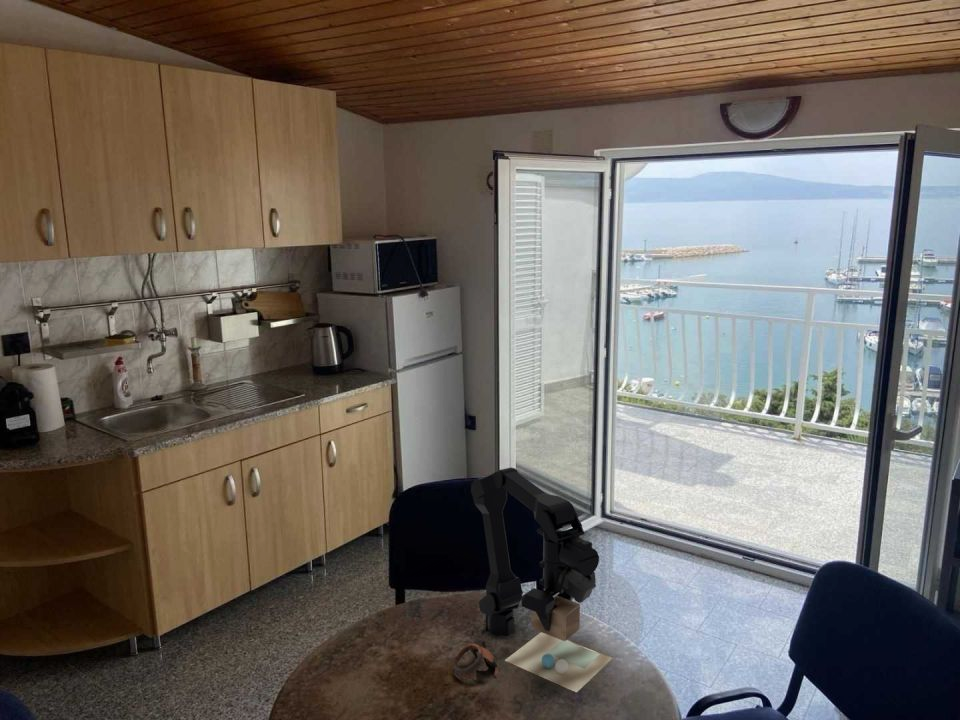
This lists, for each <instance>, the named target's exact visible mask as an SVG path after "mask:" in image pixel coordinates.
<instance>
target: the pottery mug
mask: <svg viewBox="0 0 960 720" xmlns="http://www.w3.org/2000/svg"><path fill="white" fill-rule="evenodd" d="M469 651H470V652H471V653H472V655H473V656H474V658H475V660H474V662H473V663H471V664H470V665H469V666H467V667H463V668H461V667H458V664H459V661H460V660H461V658H462V657H463V656H464V655H465V654H466V653H468V652H469ZM454 659H455V661H454V662H453V663H452V667H453V668H454V676H455V678H457V679H458V680H460V681H467V680H470V679H472V680H475V681H477V680H478V678H477V671H479V672H483V671H484V672H486V671H488V670H489V667H488V665H489V666H491V667H492V668H494V672H493V675H494V677H495V679H496V678H497V679H498V677H499V673H500V671H499V667H498V663H497V661H496V658H495V657H494V655H493V654H492V652H491V651H490V650H489V649H487V643H486V641H485V640H484V639H483V638H481V637H479V638H475V640H474V641H473V643H469V644H466V645H464V646H463V647H462V648H461V647H460V649H459V650H458V651H457V653H456V654H455V655H454ZM486 662H487V664H486Z"/></svg>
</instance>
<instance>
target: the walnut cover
mask: <svg viewBox="0 0 960 720" xmlns="http://www.w3.org/2000/svg"><path fill="white" fill-rule="evenodd" d="M554 605H556V606H558V607H557V608H556V609H554V610H553V611H552V620H551V627H550V631H546V630H545V629H544V627H543V625H542V623H541V621H540V619H539V617H538V615H537V613H536V612H535V611H532V610H531V629H532V630H536V631H538V632H539V633H541V632H542V633H545V634H547V635H550V636H552V637H555V638H557V639H560V640H562V641H566V640H569V638H571V637H572V636H573V635H574V634H576V633H577V632H578V631H579V630H580V629H581V627H580V625H581V624H580V623H581V620H580V619H581V603H579V602H577V601H573V600H572V601H571V600H568V599H565V598H562V597H559V596H555V597H554Z"/></svg>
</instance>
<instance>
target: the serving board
mask: <svg viewBox="0 0 960 720" xmlns="http://www.w3.org/2000/svg"><path fill="white" fill-rule="evenodd" d="M545 654H551V655H552V656H553V657H554V659H555V663H554V665H553V666H552V667H551V668H546V667H544V666H543V665H542V662H541V659H542V657H543V655H545ZM560 659H563V660H565V661H566V662H567V663H568V666H569V668H568V671H567V672H566V673H564V674H560V673H558V672H557V671H556V669H555V664H556V662H557V661H558V660H560ZM612 660H613V657H611V656H609V655H606V654H604V653H600V652H598V651H595V650H594V649H593V650H592V649H590V648H588V647H585V646H583V645H581V644H578V643H576V642H573V641H571V640H569V639H567V640H566V641H562V640H560V639H557V638H555V637H552V636H550V635H547V634H545V633H542V632H539V633H538V634H537V635H535V636H534V637H533V638H532V639H530V640H529V641H528V642H526V643H525V644H524V645H522V646H521V647H520V648H519V649H518V650H516V651H515V652H514V653H512V654H511V655H510V656H508V657H507V658H506V659H504V662H507V663H509V664H512V665H514V666H516V667H518V668H520V669H522V670H525V671H527V672H530V673H532V674H534V675H536V676H539V677H541V678H543V679H545V680H548V681H550V682H552V683H553V684H554V683H555V684H556V685H559V686H561V687H563V688H565V689H568V690H570V691H572V692H575V693H578V692H579V691H580V690H581V689H582V688H583V687H584V686H585V685H586V684H588V682H590V680H592V678H594V676H595V675H597V674H598V673H599V672H600V671H601V670H602V669H603V668H604V667H605V666H606V665H607V664H608V663H609V662H610V661H612Z"/></svg>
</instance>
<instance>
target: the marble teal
mask: <svg viewBox="0 0 960 720" xmlns="http://www.w3.org/2000/svg"><path fill="white" fill-rule="evenodd" d="M541 662H542V665H543V666H544V667H546V668H551V667H552V666H553V665H554V663H555V659H554V657H553V656H552V655H551V654H545V655H543V657H542V659H541Z"/></svg>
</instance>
